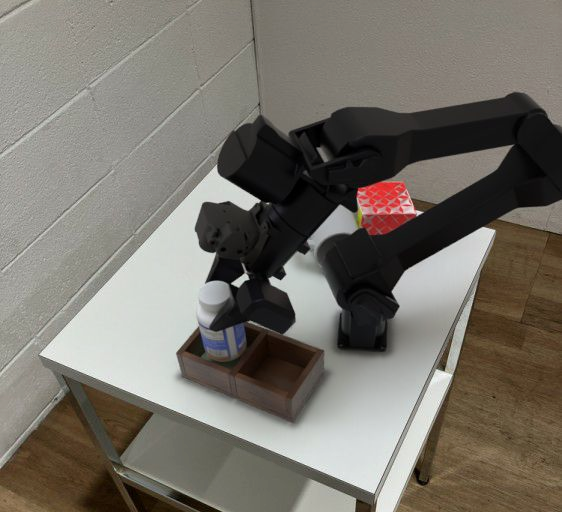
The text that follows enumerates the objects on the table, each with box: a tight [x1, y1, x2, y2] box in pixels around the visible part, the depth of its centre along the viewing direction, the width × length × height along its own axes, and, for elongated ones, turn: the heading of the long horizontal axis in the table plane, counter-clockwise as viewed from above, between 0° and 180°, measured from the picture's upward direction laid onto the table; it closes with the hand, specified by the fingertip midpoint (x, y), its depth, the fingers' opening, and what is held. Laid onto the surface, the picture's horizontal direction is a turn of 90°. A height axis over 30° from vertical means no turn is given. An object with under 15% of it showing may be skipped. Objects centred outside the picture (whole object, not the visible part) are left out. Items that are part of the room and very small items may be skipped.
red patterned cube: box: [354, 181, 418, 235], centre depth 94 cm, size 8×8×8 cm
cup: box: [307, 205, 358, 269], centre depth 94 cm, size 7×10×9 cm
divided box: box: [175, 321, 325, 423], centre depth 80 cm, size 16×9×5 cm, turn 61°
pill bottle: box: [195, 281, 246, 362], centre depth 77 cm, size 5×5×10 cm
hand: (207, 313), depth 76 cm, fingers closed on pill bottle, 5 cm apart
